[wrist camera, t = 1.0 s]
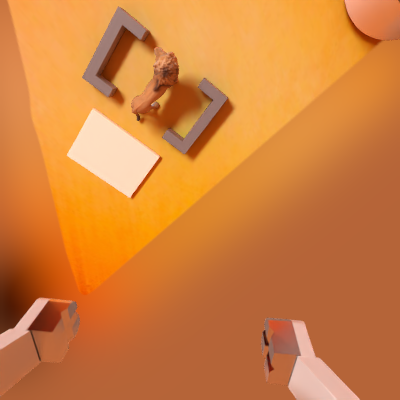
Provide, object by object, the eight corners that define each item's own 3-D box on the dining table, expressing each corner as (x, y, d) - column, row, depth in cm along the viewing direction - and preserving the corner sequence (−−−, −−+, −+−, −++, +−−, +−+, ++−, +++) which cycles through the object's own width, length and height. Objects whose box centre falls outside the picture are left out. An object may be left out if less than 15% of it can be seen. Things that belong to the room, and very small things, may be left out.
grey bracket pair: (123, 9, 39) (118, 6, 37) (227, 96, 43) (227, 98, 41) (87, 76, 43) (82, 77, 42) (185, 151, 47) (184, 154, 46)
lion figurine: (165, 43, 41) (155, 40, 34) (190, 62, 42) (184, 62, 35) (127, 113, 45) (112, 121, 39) (150, 128, 46) (138, 139, 40)
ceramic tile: (94, 107, 45) (92, 108, 45) (160, 155, 48) (159, 157, 48) (68, 154, 49) (66, 155, 49) (130, 196, 52) (129, 197, 52)
